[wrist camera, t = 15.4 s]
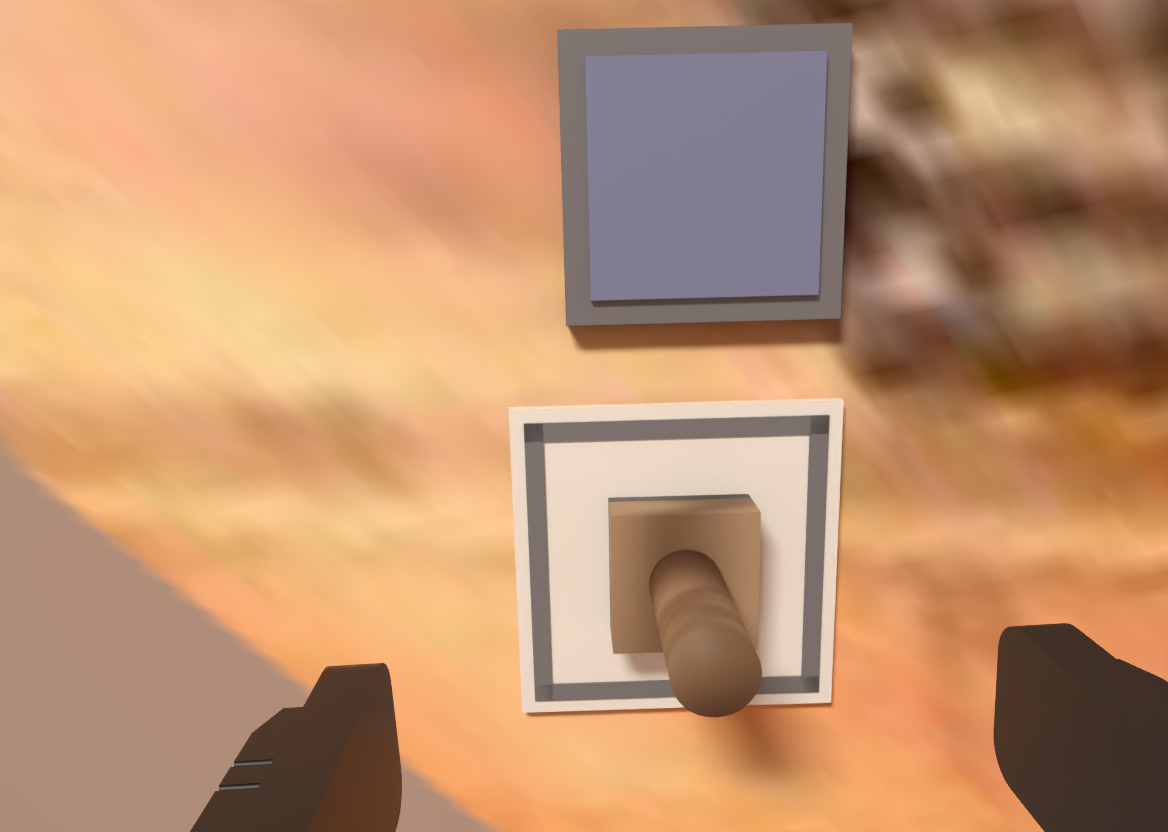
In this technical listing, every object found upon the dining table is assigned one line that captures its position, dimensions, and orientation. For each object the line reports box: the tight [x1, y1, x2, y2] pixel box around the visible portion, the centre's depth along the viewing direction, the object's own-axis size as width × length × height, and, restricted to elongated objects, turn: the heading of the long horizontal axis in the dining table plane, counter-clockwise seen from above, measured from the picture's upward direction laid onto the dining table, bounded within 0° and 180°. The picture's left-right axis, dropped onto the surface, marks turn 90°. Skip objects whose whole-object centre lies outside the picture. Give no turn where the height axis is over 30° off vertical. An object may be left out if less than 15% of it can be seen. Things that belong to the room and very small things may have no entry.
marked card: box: [509, 398, 844, 713], centre depth 37 cm, size 14×14×1 cm
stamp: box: [608, 494, 762, 717], centre depth 32 cm, size 6×6×10 cm
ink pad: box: [558, 23, 853, 326], centre depth 33 cm, size 11×11×2 cm
